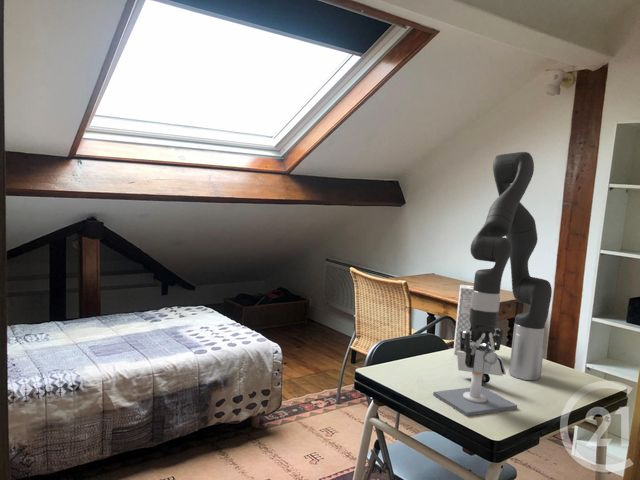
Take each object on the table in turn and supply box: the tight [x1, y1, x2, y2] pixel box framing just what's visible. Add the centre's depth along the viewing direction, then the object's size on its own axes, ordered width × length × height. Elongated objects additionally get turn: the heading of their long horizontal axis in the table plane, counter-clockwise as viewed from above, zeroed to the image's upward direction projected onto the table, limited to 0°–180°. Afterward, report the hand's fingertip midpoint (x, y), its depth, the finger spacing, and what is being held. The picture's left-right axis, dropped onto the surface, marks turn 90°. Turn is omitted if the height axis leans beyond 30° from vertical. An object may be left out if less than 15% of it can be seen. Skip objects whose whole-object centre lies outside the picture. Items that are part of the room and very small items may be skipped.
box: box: [453, 284, 475, 356], centre depth 186 cm, size 8×8×25 cm
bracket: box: [456, 351, 507, 386], centre depth 154 cm, size 4×10×15 cm
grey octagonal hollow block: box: [467, 344, 499, 373], centre depth 138 cm, size 6×8×6 cm
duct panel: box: [432, 371, 518, 417], centre depth 139 cm, size 18×14×9 cm
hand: (478, 365), depth 139 cm, fingers closed on grey octagonal hollow block, 6 cm apart
